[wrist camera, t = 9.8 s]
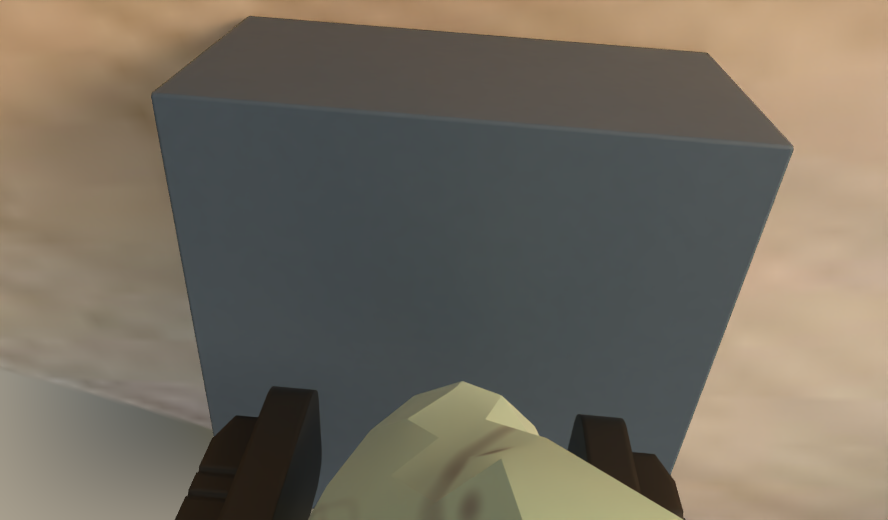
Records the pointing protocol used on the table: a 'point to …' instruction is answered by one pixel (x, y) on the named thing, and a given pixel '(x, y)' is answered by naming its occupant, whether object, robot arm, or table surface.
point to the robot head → (472, 469)
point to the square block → (462, 223)
